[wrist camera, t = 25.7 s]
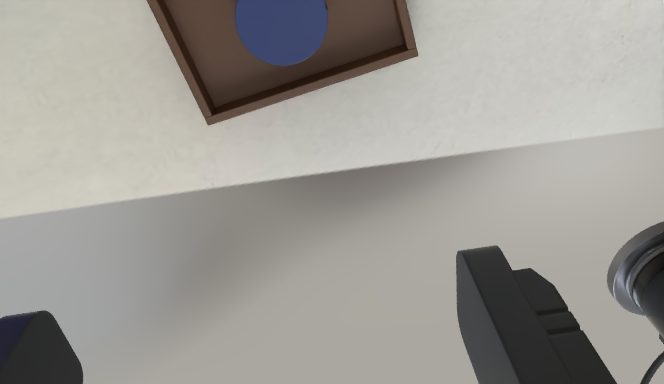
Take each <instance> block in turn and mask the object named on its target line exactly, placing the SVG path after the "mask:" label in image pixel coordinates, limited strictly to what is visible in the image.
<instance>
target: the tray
mask: <svg viewBox="0 0 664 384" xmlns="http://www.w3.org/2000/svg"><path fill="white" fill-rule="evenodd" d="M237 1H238V0H147V2H148V4H149V6H150V8H151V10H152V12H153V14H154V16H155V18H156V20H157V22H158V24H159V26H160V28H161V30H162V32H163V34H164V36H165V38H166V40H167V42H168V45H169V47H170V49H171V51H172V53H173V55H174V57H175V59H176V61H177V63H178V65H179V67H180V69H181V71H182V73H183V75H184V77H185V79H186V81H187V83H188V85H189V87H190V89H191V91H192V93H193V95H194V97H195V99H196V102H197V104H198V106H199V108H200V110H201V112H202V114H203V116H204V117H205V120H206V122H207V124H208V125H211V124H214V123H217V122H220V121H224V120H227V119H230V118H233V117H236V116H239V115H242V114H245V113H248V112H251V111H254V110H257V109H260V108H263V107H266V106H269V105H272V104H275V103H278V102H281V101H284V100H287V99H290V98H293V97H296V96H299V95H302V94H305V93H308V92H311V91H314V90H317V89H320V88H323V87H326V86H329V85H332V84H335V83H338V82H341V81H344V80H347V79H350V78H353V77H356V76H359V75H362V74H365V73H368V72H371V71H374V70H377V69H380V68H383V67H386V66H389V65H392V64H395V63H398V62H401V61H404V60H407V59H410V58H413V57H416V56H418V52H417V48H416V44H415V39H414V35H413V31H412V27H411V22H410V18H409V14H408V10H407V5H406V1H405V0H324V1H325V5H327V8H328V11H327V15H328V24H327V28H328V29H327V30H326V34H325V37H324V39H323V41H322V43H321V45H320V46H319V48H318V49H317V50H316V51H315V53H314V54H312V55H311V56H310V57H309V58H307V59H306V60H304V61H302V62H299V63H296V64H293V65H285V66H281V65H274V64H270V63H267V62H264V61H262V60H260V59H259V58H257V57H256V56H254V55H253V54H252V53H251V52H250V51H249V50H248V49H247V48H246V47H245V45H244V44H243V42H242V41H241V39H240V37H239V34H238V32H237V28H236V22H235V10H236V9H235V6H236V4H237Z"/></svg>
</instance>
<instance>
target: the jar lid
mask: <svg viewBox="0 0 664 384" xmlns="http://www.w3.org/2000/svg"><path fill="white" fill-rule="evenodd" d="M235 9H236V10H235V22H236V28H237V32H238V34H239V37H240V39H241V41H242V42H243V44H244V45H245V47H246V48H247V49H248V50H249V51H250V52H251V53H252V54H253V55H254V56H256V57H257V58H259V59H260V60H262V61H264V62H267V63H270V64H274V65H281V66H285V65H293V64H296V63H299V62H302V61H304V60H306V59H307V58H309V57H310V56H311V55H312V54H314V53H315V51H316V50H317V49H318V48H319V46H320V45H321V43H322V41H323V39H324V37H325V34H326V30H327V29H328V28H327V24H328V15H327V11H328V8H327V5H325V1H324V0H238V1H237V4H236V6H235Z"/></svg>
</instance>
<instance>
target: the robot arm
mask: <svg viewBox="0 0 664 384" xmlns="http://www.w3.org/2000/svg"><path fill="white" fill-rule="evenodd" d="M456 269H457V270H456V274H457V314H458V321H459V327H460V330H461V335H462V338H463V341H464V344H465V347H466V349H467V352H468V355H469V358H470V360H471V363H472V366H473V369H474V372H475V374H476V377H477V380H478V382H479V384H617V383H616V381H615V380H614V378H613V377H612V375H611V374H610V372H609V371H608V369H607V367H606V366H605V364H604V363H603V361H602V360H601V358H600V356H599V355H598V353H597V352H596V350H595V349H594V347H593V346H592V344H591V343H590V341H589V339H588V338H587V336H586V335H585V333H584V332H583V331H581V330H580V325H579V324H578V322H577V321H576V319H575V318H574V316H573V314H572V313H571V312H569V311H568V307H567V305H566V304H565V302H564V300H563V299H562V297H561V296H560V294H559V293H558V291H557V290H556V288H555V286H554V285H553V284H551V283H550V282H549V281H547V280H546V279H545V278H543V277H542V276H541V275H539V274H538V273H537V272H535V271H534V270H532V269H531V268H528V269H521V270H514V271H512V269H511V267H510V265H509V263H508V262H507V260H506V258H505V256H504V255H503V253H502V251H501V250H500V248H499V247H498V246H489V247H482V248H476V249H468V250H461V251H458V252H457V256H456ZM626 290H627V293H628V295H629V297H630V298H631V300H632V301H633V302H634V303H635V305H636V306H637V307H639V308H640V309H641V310H642V312H643V313H644V314H645V316H646V317H647V318H648V319H649V320H650V322H651V323H652V324H653V326H654V327H655V328H656V329H657V330H658V331H659V339H660V340H661V341H662V342H663V344H664V242H663V243H660V244H658V245H657V246H655V247H653V248H652V249H650V250H649V251H647V252H646V253H645V254H644V255H642V256H641V257H640V258H639V259H638V260H637V261H636V263H635V264H634V265H633V267H632V268H631V270H630V272H629V274H628V277H627V280H626ZM663 362H664V352H663V353H662V354H660V355H659V356H658V358H657V359H656V360H655V361H654V362H653V363H652V365H651V366H650V368H649V369H648V371H647V372H646V374H645V376H644V378H643V379H642V381H641V383H640V384H648V383H649V382H650V380H651V378H652V377H653V375H654V373H655V372H656V370H657V369H658V368H659V367H660V365H661V364H662V363H663ZM0 384H83V371H82V366H81V363H80V361H79V359H78V358H77V356H76V355H75V352H74V351H73V349H72V347H71V346H70V344H69V342H68V340H67V339H66V337H65V335H64V334H63V332H62V330H61V329H60V327H59V325H58V323H57V321H56V320H55V318H54V317H53V315H52V314H51V313H49V312H48V311H37V312H30V313H23V314H16V315H10V316H5V317H2V318H1V319H0Z"/></svg>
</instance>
